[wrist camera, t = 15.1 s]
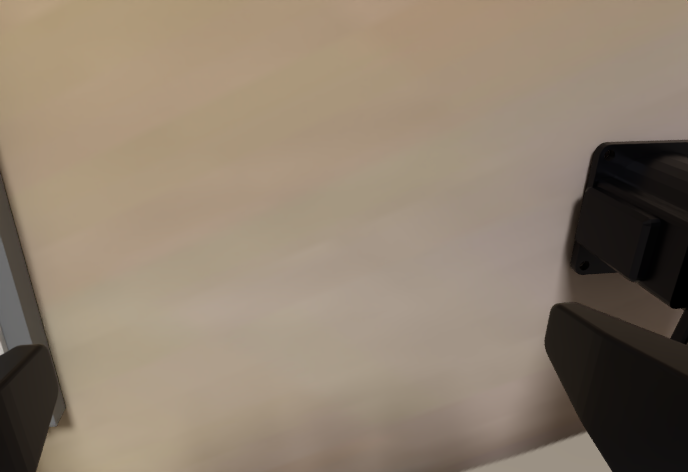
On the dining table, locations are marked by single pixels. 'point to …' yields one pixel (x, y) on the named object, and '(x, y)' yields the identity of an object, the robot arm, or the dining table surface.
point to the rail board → (18, 296)
